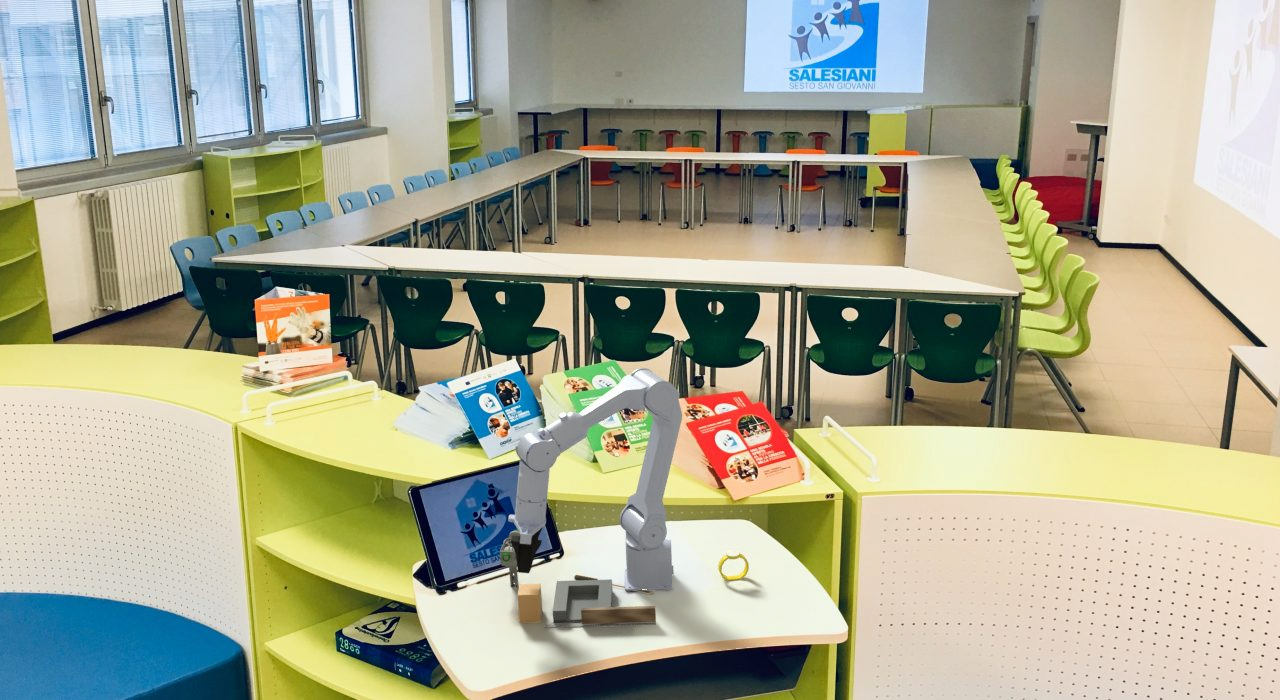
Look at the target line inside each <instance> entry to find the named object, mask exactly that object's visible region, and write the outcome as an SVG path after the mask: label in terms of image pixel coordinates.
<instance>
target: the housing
mask: <svg viewBox="0 0 1280 700" xmlns="http://www.w3.org/2000/svg"><path fill="white" fill-rule="evenodd" d="M553 599H554V600H553V605H552V619H553V620H552V623H545V624H544V629H546V628H547V629H550V628H551V629H553V628H555V629H556V628H578V627H579V628H580V627H581V628H584V627H587V628H589V627H618V626H619V627H620V626H622V627H623V626H654V625H655V626H656V625H657V621H656V622H641V623H605V624H582V618H581V608H599V607H613V579H583V580H580V579H579V580H578V579H577V580H575V579H574V580H556V583H555V592H554V598H553Z"/></svg>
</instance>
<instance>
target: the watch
mask: <svg viewBox="0 0 1280 700" xmlns="http://www.w3.org/2000/svg"><path fill="white" fill-rule="evenodd" d="M739 558H740V559H742V560H743V561H744V563H745V567H744V568H743V570H742V571H741V572H740V573H739V574H737V575H725V574H724V573H723V572H722V569H723V565H724V563H725V562H726V561H727V560H737V559H739ZM749 565H750V564H749V562H748V559H747V558H746V557H745V556H744V554H742V553H741V552H740V550H737V549H730V550H727V551H726V553H725V555H723V556H722V557H721V559H720V561H718V568H717V569H718V571H719V573H720V576H721V577H722V579H723V580H725V581H727V582H729V581H738V580H742V579H744V578H745V577H746V575H747V574H748V572H749V570H750V569H749Z"/></svg>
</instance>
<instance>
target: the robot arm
mask: <svg viewBox="0 0 1280 700" xmlns="http://www.w3.org/2000/svg"><path fill="white" fill-rule="evenodd" d="M680 395H681V394H680V392H679V391H678V390H677V388H676V387H675V386H674V385H673V384H672V383H671V382H670V381H667V380H665V379H664V378H662V377H660V376H659V375H658V374H656V373H654V372H653V371H652V370H651V369H650V368H647V367H639V368H637V369H635V370H632V372H631V373H630V374H627V375H624V376H623V377H622V378H621V380H620V381H619V382H618V384H617V385H616V386H615V387H613V388H612V389H610V390H609V391H607V392H606V393H605V394H603V395H602V396H600V397H599V398H598V399H596V400H595V401H594V402H592V403H591V404H589V405H588V406H586V407H585V408H584V409H583V410H581V411H580V412H573V411H568V412H567V413H565V412H562V413H560V414H559V415H558V418H557V419H556V420H555V421H553V422H551V423H550V424H548V425H546V426H545V427H540V428H539V429H538V430H537V432H533V433H532V432H529V433H527V434H525V435H523V436H522V437H521V438H520V439H519V441H518V443H517V445H515V447H514V449H515V454H516V455H517V457H518V458H519V465H518V466H519V468H518V475H517V486H516V487H517V488H516V499H515V511H514V514H509V515H508V520H507V521H508V523H509V522H510V523H513V524H514V526H515V528H516V530H518V531H519V532H520V535H521V536H513V535H512V538H511V544H512V546H513V548H514V550H515V554H516V560H517V573H520V574H530V572H531V570H532V567H533V562H534V558H535V556H536V553H537V552H538V550H539V549H540V547H541V546H542V542H543V540H542V539H539V537H540V535H541V532H542V530H543V528H545V525H546V524H547V518H546V514H547V504H548V503H547V502H548V491H549V481H550V472H551V471H550V470H551V468H553V466H554V465H555V463H556V462H557V459H558V457H559V456H561V454H563V453H564V452H565V451H568V450H569V449H570V448H572V447H573V446H575V445H576V444H578V443H579V442H581V441H583V440H585V439H586V438H587V436H588V433H589V429H590V428H592V427H594V426H596V425H597V424H600V423H601V422H603V421H605V420H606V419H608V418H610V417H612V416H614V415H615V414H617V413H619V412H621V411H623V410H625V409H629V410H636V411H643V412H644V411H645V409H646V411H647V412H648V414H649V415H650V416H651V417H652V423H651V427H650V432H649V436H648V440H647V443H646V449H645V454H644V458H643V461H642V466H641V470H640V474H639V477H638V478H639V479H638V484H637V487H636V491H635V493H633V494H632V495H630V496H629V497H627V498H628V499H627V502H626V505H625V507H624V508H622V511H621V513H620V515H619V525H620V527H621V528H622V529H623V530H624V531H625V560H626V563H625V565H626V569H625V570H624V571H625V572H624V573H625V574H624V590H625V591H627V592H631V591H632V592H633V591H643V590H642V589H647V590H646V591H663V590H665V591H667V590H673V575H675V573H674V565H673V562H672V559H673V558H672V539H666V537H667V534H668V529H667V528H668V527H667V526H666V523H667V515H668V514H667V510H666V509H665V508H666V507H665V506H664V500H663V499H664V495H665V491H666V488H667V487H666V486H667V483H668V478H669V475H670V469H671V465H672V461H673V459H674V458H673V457H674V454H675V450H676V444H677V441H678V436H679V433H680V428H681V424H682V420H683V412H682V408H681V405H680V401H679V398H680Z"/></svg>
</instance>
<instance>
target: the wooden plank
mask: <svg viewBox="0 0 1280 700" xmlns="http://www.w3.org/2000/svg"><path fill="white" fill-rule="evenodd" d="M656 614H657V613H656V605H642V606H612V607H599V608H581V618H582V622H581V623H582V624H605V623H641V622H656V623H657V618H656V617H657V616H656Z"/></svg>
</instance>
